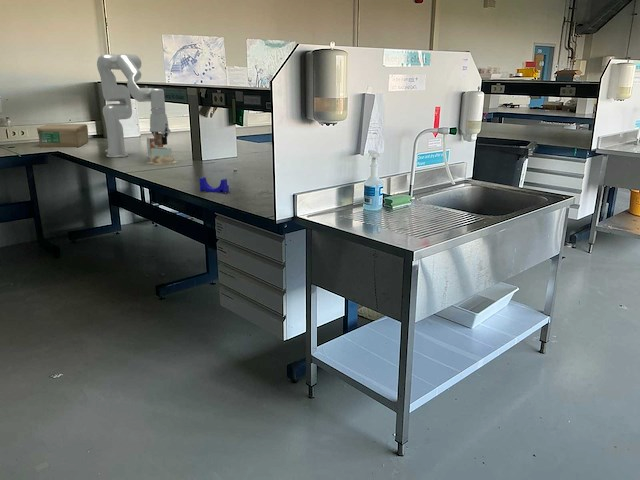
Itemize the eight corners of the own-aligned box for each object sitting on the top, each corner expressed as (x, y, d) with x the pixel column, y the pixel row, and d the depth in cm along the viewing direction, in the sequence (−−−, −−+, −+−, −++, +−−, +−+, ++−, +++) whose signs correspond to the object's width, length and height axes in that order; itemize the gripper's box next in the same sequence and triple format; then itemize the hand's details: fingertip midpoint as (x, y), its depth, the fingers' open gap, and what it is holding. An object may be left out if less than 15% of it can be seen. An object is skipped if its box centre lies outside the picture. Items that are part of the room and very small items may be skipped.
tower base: (150, 162, 304) (150, 155, 303) (161, 160, 312) (161, 153, 310) (162, 163, 300) (162, 156, 299) (173, 161, 308) (173, 154, 307)
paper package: (38, 147, 358) (35, 126, 354) (50, 143, 382) (47, 123, 378) (80, 147, 362) (77, 127, 358) (89, 142, 386) (87, 123, 382)
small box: (151, 160, 316) (149, 138, 312) (148, 158, 321) (146, 137, 317) (164, 159, 320) (162, 137, 316) (161, 157, 325) (159, 136, 321)
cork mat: (144, 163, 303) (144, 162, 303) (161, 160, 315) (161, 159, 315) (163, 166, 297) (163, 164, 297) (179, 162, 309) (179, 161, 309)
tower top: (151, 155, 303) (150, 148, 302) (161, 153, 310) (160, 147, 309) (162, 156, 300) (161, 149, 298) (171, 154, 306) (171, 148, 305)
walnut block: (154, 144, 302) (153, 134, 300) (160, 143, 306) (159, 133, 304) (161, 145, 300) (160, 134, 298) (167, 144, 304) (166, 134, 302)
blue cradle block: (228, 191, 238) (228, 178, 236) (224, 193, 234) (223, 180, 232) (205, 189, 241) (204, 176, 239) (200, 191, 237) (199, 178, 235)
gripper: (142, 111, 298) (145, 143, 303) (165, 112, 290) (167, 145, 296) (151, 110, 304) (154, 142, 309) (174, 111, 297) (177, 144, 302)
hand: (161, 143), depth 303 cm, fingers closed on walnut block, 5 cm apart
